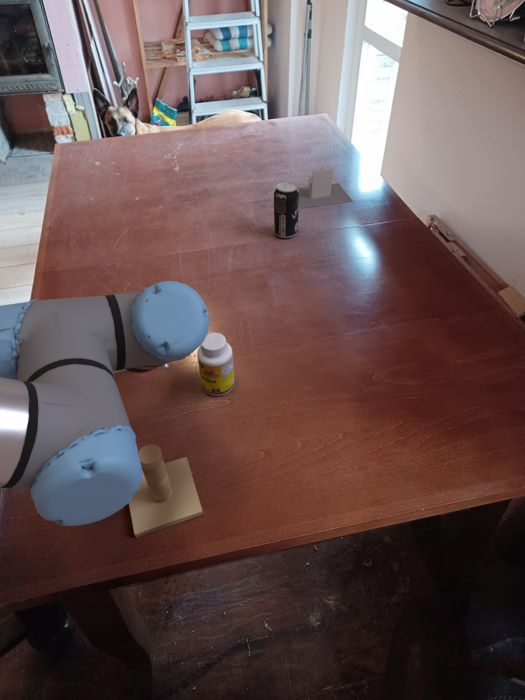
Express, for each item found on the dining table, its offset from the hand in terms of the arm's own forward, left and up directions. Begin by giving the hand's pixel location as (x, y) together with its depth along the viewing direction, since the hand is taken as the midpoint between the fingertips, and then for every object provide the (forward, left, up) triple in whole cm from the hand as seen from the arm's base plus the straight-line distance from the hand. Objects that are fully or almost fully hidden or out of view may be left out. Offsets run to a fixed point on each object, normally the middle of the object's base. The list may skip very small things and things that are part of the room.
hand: (118, 358), depth 77 cm
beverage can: (+44, +35, -6) cm, 56 cm away
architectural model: (+60, +50, -6) cm, 78 cm away
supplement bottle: (+15, -6, -6) cm, 17 cm away
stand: (+2, -23, -6) cm, 24 cm away
